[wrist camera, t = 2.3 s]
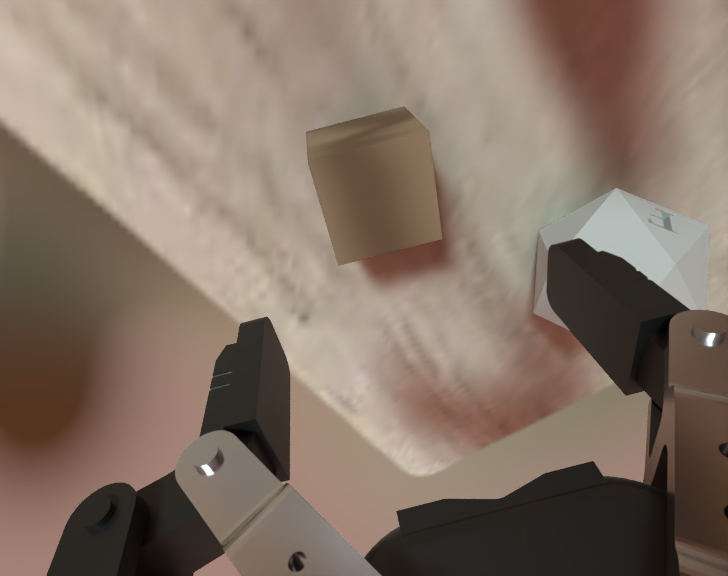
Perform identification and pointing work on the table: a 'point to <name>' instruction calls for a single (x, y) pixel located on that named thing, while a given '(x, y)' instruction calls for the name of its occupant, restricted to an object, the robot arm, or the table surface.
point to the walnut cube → (375, 184)
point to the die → (634, 246)
